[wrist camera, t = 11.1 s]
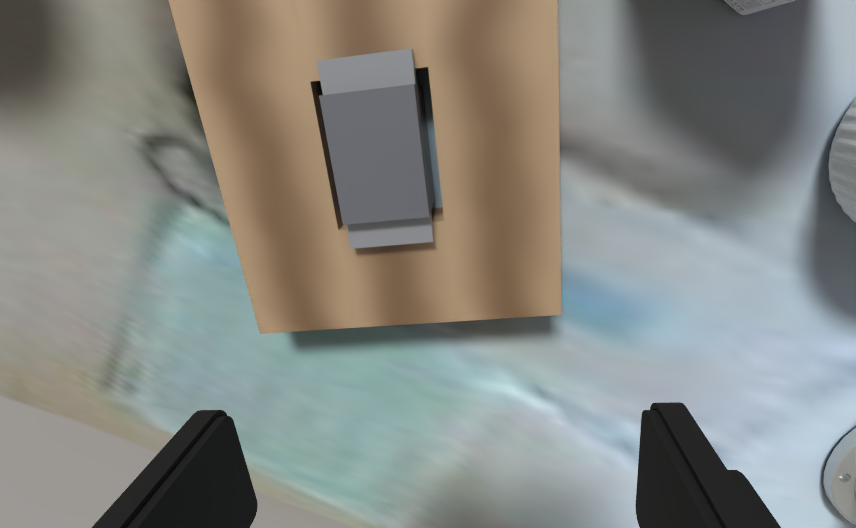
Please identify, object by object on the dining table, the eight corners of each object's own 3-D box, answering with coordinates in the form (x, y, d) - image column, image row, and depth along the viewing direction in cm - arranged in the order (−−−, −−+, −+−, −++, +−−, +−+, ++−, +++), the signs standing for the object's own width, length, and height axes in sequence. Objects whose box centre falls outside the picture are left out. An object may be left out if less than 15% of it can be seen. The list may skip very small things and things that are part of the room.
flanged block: (419, 53, 27) (409, 47, 23) (437, 221, 31) (432, 245, 26) (338, 64, 28) (312, 60, 23) (365, 228, 32) (347, 252, 27)
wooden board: (543, -81, 25) (556, -110, 21) (550, 288, 33) (561, 314, 29) (199, -26, 27) (156, -44, 23) (282, 307, 35) (260, 333, 31)
